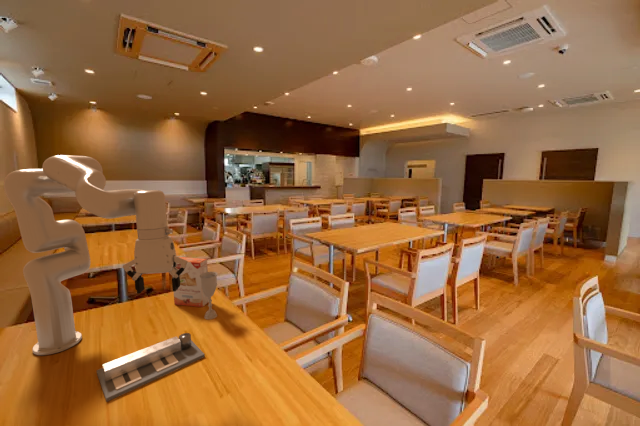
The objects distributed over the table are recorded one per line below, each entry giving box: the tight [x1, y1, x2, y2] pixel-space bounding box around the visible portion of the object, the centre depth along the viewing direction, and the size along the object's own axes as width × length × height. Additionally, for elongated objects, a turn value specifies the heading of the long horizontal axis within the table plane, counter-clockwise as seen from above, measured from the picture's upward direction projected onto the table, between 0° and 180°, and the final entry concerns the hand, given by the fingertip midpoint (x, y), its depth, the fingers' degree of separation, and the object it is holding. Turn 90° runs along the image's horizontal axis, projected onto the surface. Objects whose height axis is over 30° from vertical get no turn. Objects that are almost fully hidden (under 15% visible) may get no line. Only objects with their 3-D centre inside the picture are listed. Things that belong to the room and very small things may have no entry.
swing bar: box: [102, 332, 192, 381], centre depth 89 cm, size 4×24×4 cm, turn 135°
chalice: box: [200, 271, 218, 320], centre depth 118 cm, size 7×7×18 cm
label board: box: [96, 337, 206, 403], centre depth 89 cm, size 15×26×1 cm, turn 135°
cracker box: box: [173, 256, 209, 308], centre depth 128 cm, size 14×6×21 cm, turn 81°
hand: (158, 290), depth 84 cm, fingers open, 9 cm apart
